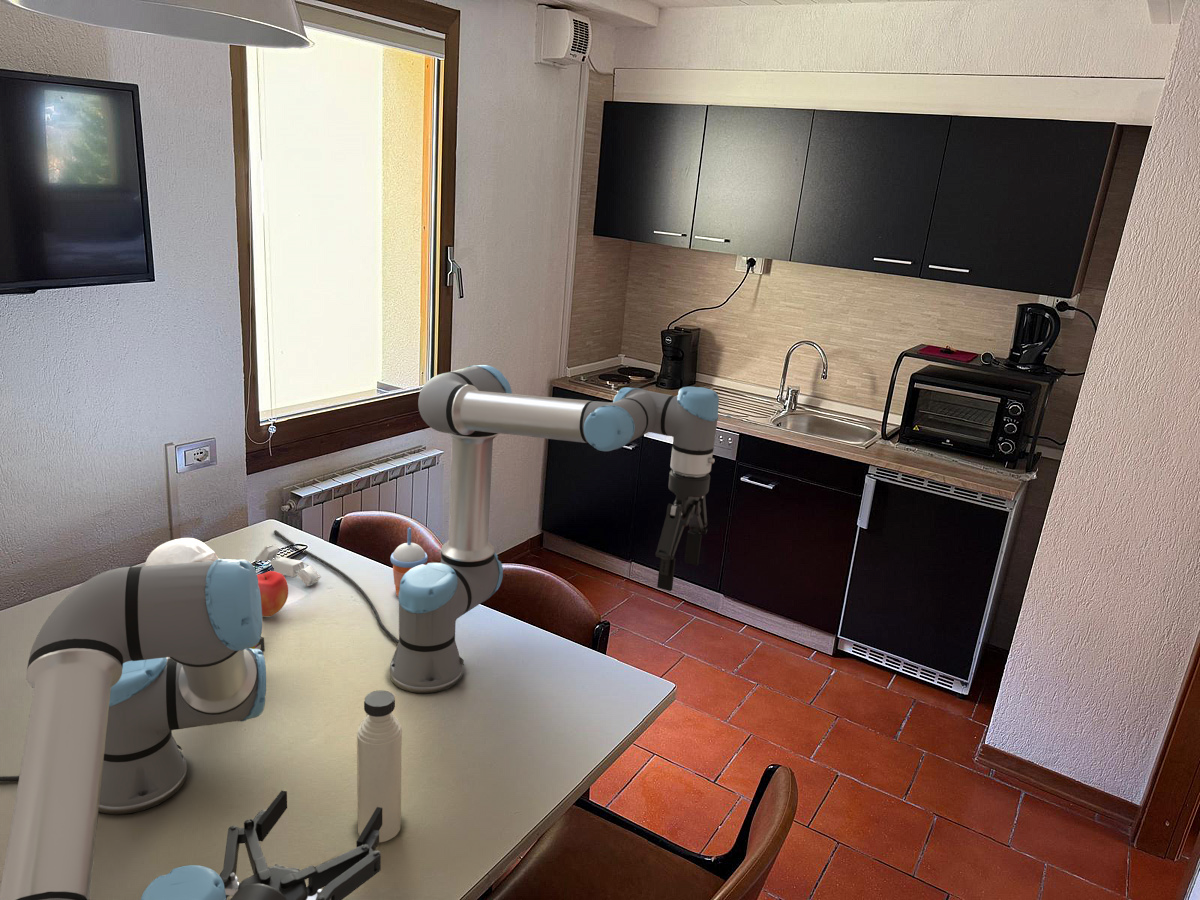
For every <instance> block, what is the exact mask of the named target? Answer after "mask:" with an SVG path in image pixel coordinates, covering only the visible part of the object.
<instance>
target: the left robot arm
mask: <svg viewBox="0 0 1200 900" xmlns="http://www.w3.org/2000/svg"><path fill="white" fill-rule="evenodd" d="M257 575H258V573H257V571H256V568H255V567H254V564H252V562H250V561H249V560H247V559H243V558H242V559H241V558H238V559H237V558H236V559H230V558H226V557H224V558H218V560H216V561H207V562H193V563H180V564H167V565H154V566H145V565H142V566H123V567H117V568H113V569H109V570H106V571H103V572H101V573H99V574H96V575H95V576H92V577H90V578H88V579H87V580H86V581H84V582H83V583H81V584H80V585H79V586H77V587H76V588H75V589H73V590H72V591H71V592H69V594H67V595H66V597H65V598H64V599H63V600H61V602H60V603H58V605H57V606H56V607H55V608H54V610H53V611H52V612H51V613H50V615H49V616H48V618H47V619H46V620H45V622H43V624H42V626H41V628H40V630H39V631H38V633H37V634H36V637H35V640H34V642H33V644H32V646H31V649H30V652H29V657H28V662H27V668H26V674H25V677H26V681H27V684H29V686H30V687H31V688H33V695H32V700H31V706H30V711H29V712H30V713H29V719H28V724H27V730H26V735H25V740H24V748H23V752H22V753H23V754H22V760H21V763H20V765H21V766H20V771H19V775H10V776H9V775H8V776H6V775H5V776H4V775H3V776H2V775H1V776H0V782H17V789H16V794H15V799H14V806H13V807H14V808H13V811H12V819H11V822H10V823H11V824H10V828H9V829H10V830H9V836H8V841H7V848H6V853H5V859H4V865H3V871H2V877H1V882H0V900H90V894H91V885H92V876H93V875H92V874H93V868H94V867H93V866H94V857H95V846H96V845H95V844H96V837H97V826H98V817H99V813H102V814H109V815H126V814H133V813H137V812H141V811H145V810H147V809H151V808H153V807H155V806H157V805H160V804H162V803H163V802H165V801H167V800H168V799H169V798H172V796H174V795H175V794H176V793H177V792H178V791H179V790H180V789H181V788H182V786H183V785H184V784H185V782H186V780H187V775H188V767H187V761H186V757H185V756H184V754H183V753H182V750H183V749H182V747H181V746H180V745H179V744H178V743H177V741H176V740H175V738H174V736H173V731H176V730H183V729H190V728H198V727H205V726H212V725H218V724H219V725H220V724H226V723H234V722H246V721H247V720H252V719H255V718H258V717H259V716H261V715H262V714H263V712H264V710H265V706H266V694H267V668H266V667H267V665H266V659H265V655H264V652H262V651H261V650H260V649H251V648H250V647H254V646H255V645H257V644H258V642H259V641H260V637H262V632H263V616H262V606H261V595H260V589H259V586H258V577H257ZM167 657H169V659H167ZM287 809H288V791H287V790H281V791H280V792H279V793H278V794H277V795H276V797H275V798H274V799H273V800H272V802H271V804H269V806H268V807H267V809H266V810H264V809H261V810H260V811H258V812H257V814H256V815H255V816H254V818H253V819H252V818H247V819H246V820H245V821H244V822H243V827H239V826H238V825H235V824H233V825H230V826H229V827H228V829H227V834H226V835H227V836H226V843H225V844H226V845H225V852H224V859H223V867H222V870H221V872H220V873H218V872H217V871H215V870H213V869H212V868H210V867H208V866H203V865H199V864H188V865H182V866H179V867H174V868H173V869H171V871H169V872H168V873H166V874H164V875H163V874H161V875H159V876H157V877H156V878H155V879H153V880H152V881H151V882H150V883H149V884H148V885H147V887H146V888H145V889H144V891H143V893H142V894H141V897H140V900H227V899H228V897H229V896H231V898H230V900H344V899H345V898H347V897H348V896H349V895H350V894H351V893H353V892H355V891H356V890H357V889H358V888H359V887H361V886H363V885H364V884H365V883H367V882H368V881H369V880H370V879H372V878H373V877H374V876H376V875H377V874H378V873H380V872H381V868H382V867H381V866H382V865H381V864H382V858H381V857H382V855H381V851H380V850H376V849H377V847H378V845H380V843H379V830H380V828H381V826H382V808H380V807H377V808H376V810H375V811H374V813H373V815H372V816H371V818H370V820H369V821H368V823H367V825H366V826H365V828H364V830H363V831H362V833H361V835H358V836H359V837H358V838H357V840H356V847H355V848H352V849H350V850H348V851H346V852H344V853H342V854H339V855H338V856H335V857H333V858H331V859H329V860H327V861H325V862H322V863H320V864H318V865H316V866H315V865H312V864H311V865H308V866H306V867H305V868H302V869H300V868H297V867H286V866H284V865H281V864H275V865H273V866H269V867H268V863H267V861H266V857H265V856H264V854H263V850H262V847H261V844H260V842H262V843H263V842H264V840H265V839H266V837H267V836H268V835H269V834H270V832H271V831H272V829H273V828H274V827H275V825H276V824H277V823H278V822H279V820H280V818H281V817H282V816H283V815H284V813H285V812H286V811H287ZM242 844H244V845H245V849H246V853H247V856H248V859H249V860H248V861H249V864H250V867H251V871H252V875H251V876H249V877H247V878H244V879H243V880H242V881H241V882H239V878H238V875H237V870H238V869H237V868H238V858H239V850H240V845H242ZM306 880H308V881H307V882H308V885H307V883H306Z"/></svg>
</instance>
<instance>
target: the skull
mask: <svg viewBox="0 0 1200 900" xmlns="http://www.w3.org/2000/svg"><path fill="white" fill-rule="evenodd" d="M218 559H219V557H218V555H217V553H216V552H215V551H214V550H213V549H212V548H211V547H209V546H208V545H207V544H205V543H204V542H203V541H201V540H199V539H197V538H194V537H181V538H176V539H171V540H169V541H166V542H164V543H161V544H160V545H158V546H157V547H155V548H154V549H153V550H152V551H151V552H150V553H149V555H148V556H147V558H146V561H145V563H144V566H154V565H167V564H180V563H193V562H207V561H216V560H218Z"/></svg>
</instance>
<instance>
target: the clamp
mask: <svg viewBox="0 0 1200 900" xmlns="http://www.w3.org/2000/svg"><path fill="white" fill-rule="evenodd" d="M280 549H281V547H279V546H278V545H277V544H272V545H266V546H264V547H263V549H262V550H261V551H260V552H259V554H258V555H257V556H256V557H255V559H254V562H255V563H256V561H259V560H262V561H268V560H271V562H270V563H269V564H271V565H272V566H273V568H274V571H275V572H278V573H281V574H282V575H283V576H288V577H292V578H296V577H298V578H299V579H300V580H301V582H303V584H304V585H305V587H309V586H312V585H314V584H316V583H318V582H319V580H320V579H321V578H322V577H321V575H320V574H319V573H318V572H317V570H315V569H314V568H313V566H312V565H310V564H309V565H308V564H307V563H305V562H304V561H303V560H301V559H300V560H299V559H292V558H289V557H285V556H278V553H279V551H280ZM273 558H274V559H273ZM272 559H273V560H272ZM305 566H306V567H305ZM270 571H271V570H270Z"/></svg>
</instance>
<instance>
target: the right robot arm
mask: <svg viewBox="0 0 1200 900" xmlns="http://www.w3.org/2000/svg"><path fill="white" fill-rule="evenodd" d="M719 403H720V397H719V394H718V393H717V391H715V390H713V389H710V388H707V387H703V386H699V387H698V386H683V387H681V388H679V390H678V393H677V395H672V394H667V393H662V392H656V391H653V390H652V391H651V390H647V389H643V388H641V387H636V388H635V387H628V386H627V387H626V386H625V387H621V388H620V389H618V392H617V393H616V394H615V396H614V398H613V401H611V402H608V401H598V400H597V401H596V400H595V401H593V400H587V399H577V398H576V399H575V398H566V397H565V398H563V397H555V396H554V397H552V396H541V395H531V394H519V393H513V391H512V387H511V384H510V382H509V380H508V379H507V377H505V376H504V374H503V373H502V372H501V371H500V370H499V369H497V368H496V367H494V366H492V365H489V364H479V365H469V366H466V367H464V368H460V369H457V370H453V371H448V372H443V373H440V374H437V375H435V376H433V377H432V378H430V379H429V380H428V381H426V382H425V383H424V385H423V386H422V387H421V390H420V391H419V395H418V402H417V405H418V406H417V407H418V411H419V414H420V417H421V419H422V420H423V421H424V423H425V424H426V425H427V426H429V427H430V429H432V430H434V431H437V432H439V433H443V434H447V435H448V436H449V437H450V438H451V446H450V449H451V451H450V452H451V453H450V454H451V455H450V478H449V479H450V481H449V484H450V485H449V511H448V512H449V515H448V540H447V541H446V542H445V543H444V544H443V545H442V546H441V549H440V562H427V564H425V565H423V564H421V565H418V566H416V567H413V568H412V569H410V570H409V571H407V572H406V573H405V574H404V576H403V577H402V579H401V582H400V590H399V594H398V596H397V598H398V638H397V637H396V636H394V634H392V633H391V632H390V631H389V630H388V629H387V627H386V626H385V625H384V624H383V622H382V620H381V618H380V615H379V612H378V611H377V609H376V607H375V605H374V604H373V602H372V601H371V599H370V598H369V596H368V594H367V593H366V591H364V590H363V588H362V587H360V585H358V583H357V582H355V581H354V580H353V579H352V578H351V577H349V576H348V575H347V574H346V573H344V572H343V571H342V570H340V569H339V568H337V567H336V566H334V565H332V564H331V563H330V562H328V561H326V560H324V559H322V558H321V557H319V556H317V555H316V554H313V553H312V552H310V551H308V550H306V549H305V551H304V552H303V553H304V554H306V556H307V555H308V556H309V557H311V558H313V559H315V560H316V561H318V562H320V563H321V564H323V565H325V566H326V567H328V568H329V569H331V570H332V571H334V572H336V573H338V574H339V575H340V576H341V577H343V578H344V579H345V580H346V581H348V582H349V583H350V584H351V585H352V586H353V587H354V588H355V589H356V590H357V591H358V592H359V593H360V594H361V595H362V597H363V598H364V599H365V600H366V601H365V602H367V604H368V605H369V607H370V609H371V610H372V612H373V614H374V616H375V619H376V621H377V624H378V625H379V627H380V628H381V630H382V631H383V632H384V633H385V634H386V636H387V637H388V638H390V640H392V641H393V642H394V643H396V644H397V645H396V648H395V651H394V653H393V656H392V659H391V660H390V666H389V679H390V681H391V682H392V683H393V684H394V685H395V686H396V687H398V688H399V689H401V690H404V691H407V692H410V693H416V694H430V693H431V694H432V693H438V692H441V691H445V690H447V689H450V688H451V687H453V686H455V685H456V684H457V683H458V682H459V681H460V680H461V679H462V676H463V672H464V665H465V660H464V659H463V658H462V657H461V656H460V653H459V649H458V646H457V642H456V622H457V620H458V619H459V618H461V617H462V616H464V615H465V614H467V613H469V612H470V611H471V610H472V609H474V608H476V607H477V606H479V605H480V604H482V603H484V602H486V601H487V600H489V599H490V598H491V597H492V596H493V595H494V594H495V593H496V592H497V591H498V590H499V588H500V587H501V585H502V581H503V578H504V569H503V564H502V561H501V560H499V556H498V555H497V554H498V553H496V551H495V547H494V545H492V544H491V542H489V531H490V529H489V527H490V526H489V525H490V509H491V489H492V487H491V486H492V468H493V467H492V466H493V446H494V445H493V444H494V439H496V438H497V437H498V436H499V434H502V435H511V436H519V437H520V436H521V437H529V438H538V439H547V440H555V441H556V440H557V441H565V442H574V443H584V444H589V445H590V446H592V447H593V448H594V449H596V450H597V451H601V452H611V451H614V450H619V449H621V448H623V447H625V446H626V445H628V444H629V443H631V442H633V441H634V440H636V439H638V438H640V437H643V436H644V435H646V434H648V433H650V434H656V435H661V436H666V437H672V446H671V455H670V456H671V457H670V464H669V466H670V469H671V470H670V471H669V476H668V490H669V491H670V492H671V493H673V494H674V495H675V499H674V501H673V503H668V504H667V507H666V514H665V519H664V522H663V526H662V529H661V533H660V537H659V540H658V543H657V548H656V551H655V554H654V555H655V557H657V558H659V567H658V574H657V575H658V576H657V584H656V587H657V588H658V589H661V590H664V591H668V592H672V591H673V585H674V578H675V577H674V576H675V567H676V558H677V557H675V555H676V551H677V549H678V545H679V543H680V540H681V537H682V535H683V532H684V529H685V528H686V527H688V528H689V530H688V531H687V534H686V544H685V551H684V552H685V553H684V559H683V560H684V563H685V564H688V565H689V564H690V565H693V566H696V567H697V566H698V565H699V563H700V554H701V546H702V545H701V544H702V538H703V535H704V534H705V535H706V534H707V532H708V528H707V526H708V516H707V503H706V495H707V494H708V493H709V491H710V484H711V475H710V473H711V472H712V465H713V464H714V463H715V458H714V457H713V455H714V446H715V441H716V433H717V426H718V420H719V405H720V404H719ZM273 533H274V534H276V535H277V536H278V537H279V538H280V539H282V541H284V542H286V543H287V544H289V545H290V546H292V545H294V544H295V542H293V541H291V540H290V539H289V538H288V537H286V536H285V535H283V534H282V533H280V532H279V531H278V530H273Z"/></svg>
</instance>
